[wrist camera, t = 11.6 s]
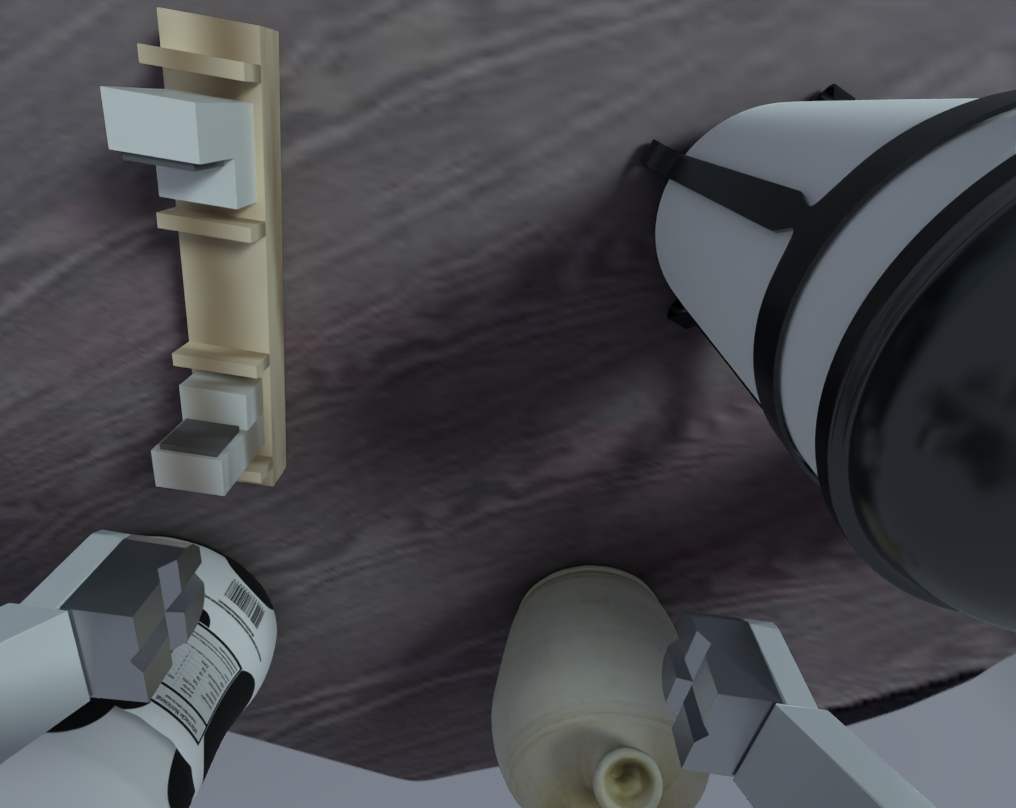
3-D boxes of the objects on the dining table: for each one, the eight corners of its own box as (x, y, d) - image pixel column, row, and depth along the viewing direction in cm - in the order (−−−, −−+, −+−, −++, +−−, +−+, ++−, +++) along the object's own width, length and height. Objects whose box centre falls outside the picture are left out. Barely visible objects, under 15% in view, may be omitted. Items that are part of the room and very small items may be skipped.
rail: (278, 31, 31) (199, 7, 24) (286, 467, 44) (236, 542, 36) (183, 14, 31) (72, -16, 23) (218, 457, 44) (154, 531, 36)
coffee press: (561, 265, 36) (662, 708, 10) (743, 6, 30) (2478, -776, 3) (766, 404, 40) (1237, 988, 14) (964, 201, 34) (2560, 551, 7)
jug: (543, 521, 46) (561, 920, 23) (714, 585, 48) (877, 999, 26) (470, 646, 52) (429, 1049, 30) (623, 696, 55) (691, 1103, 32)
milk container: (74, 628, 52) (-125, 858, 36) (99, 484, 45) (-136, 694, 29) (262, 687, 55) (155, 924, 39) (315, 562, 48) (209, 790, 32)
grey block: (252, 102, 30) (195, 102, 25) (256, 202, 33) (204, 221, 27) (175, 89, 30) (100, 86, 25) (184, 190, 32) (117, 206, 27)
